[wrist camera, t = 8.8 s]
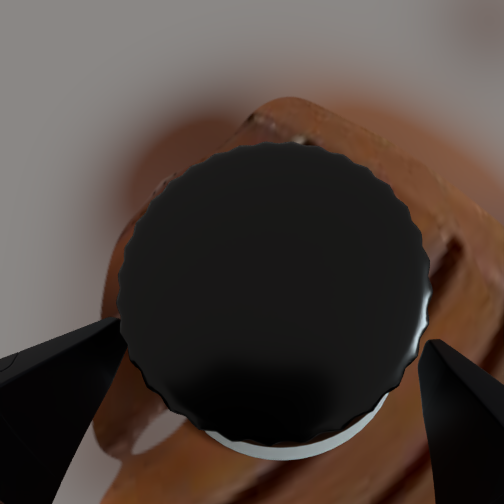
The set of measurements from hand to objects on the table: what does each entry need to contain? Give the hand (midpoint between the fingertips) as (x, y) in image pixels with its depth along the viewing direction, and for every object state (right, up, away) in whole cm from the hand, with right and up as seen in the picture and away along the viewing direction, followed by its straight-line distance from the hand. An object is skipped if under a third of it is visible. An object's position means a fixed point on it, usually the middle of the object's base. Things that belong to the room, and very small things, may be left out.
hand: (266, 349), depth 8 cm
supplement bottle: (+2, -2, +7) cm, 8 cm away
